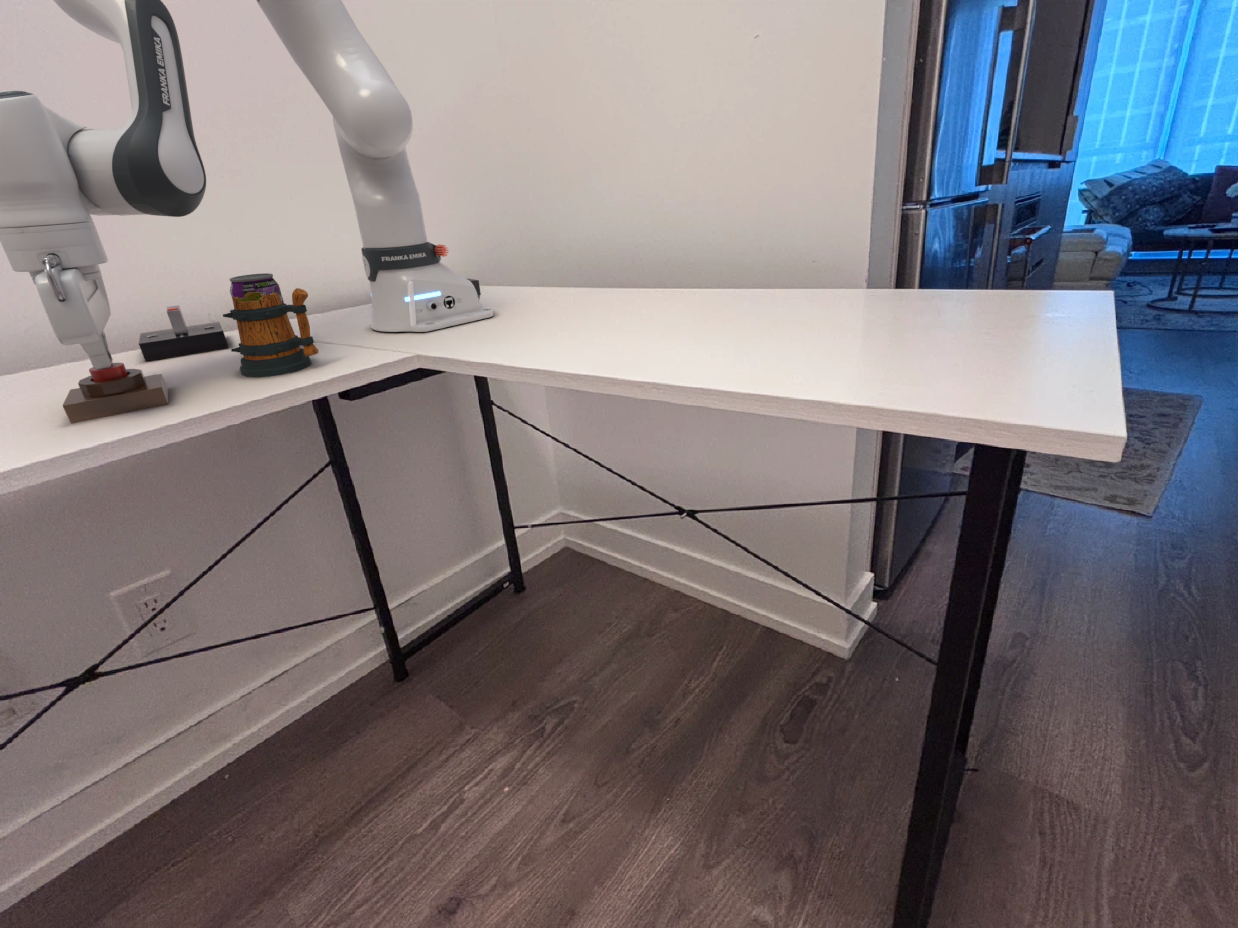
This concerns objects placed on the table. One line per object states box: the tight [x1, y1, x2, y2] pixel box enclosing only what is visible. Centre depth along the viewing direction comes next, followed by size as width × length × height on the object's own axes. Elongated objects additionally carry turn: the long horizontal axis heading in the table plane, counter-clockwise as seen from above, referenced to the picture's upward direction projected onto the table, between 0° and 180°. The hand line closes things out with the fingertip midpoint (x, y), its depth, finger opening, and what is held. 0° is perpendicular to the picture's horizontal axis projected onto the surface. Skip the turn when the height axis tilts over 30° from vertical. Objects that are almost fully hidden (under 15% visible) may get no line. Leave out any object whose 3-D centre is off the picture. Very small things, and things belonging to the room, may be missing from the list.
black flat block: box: [138, 321, 230, 363], centre depth 107 cm, size 12×10×3 cm
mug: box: [222, 287, 319, 379], centre depth 91 cm, size 13×10×12 cm
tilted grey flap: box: [166, 305, 188, 335], centre depth 106 cm, size 6×2×4 cm, turn 33°
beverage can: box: [229, 272, 289, 317], centre depth 101 cm, size 7×7×12 cm
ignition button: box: [88, 362, 128, 382], centre depth 79 cm, size 4×4×2 cm
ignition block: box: [62, 368, 169, 424], centre depth 80 cm, size 10×8×4 cm
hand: (104, 366), depth 78 cm, fingers closed, pressing on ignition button
